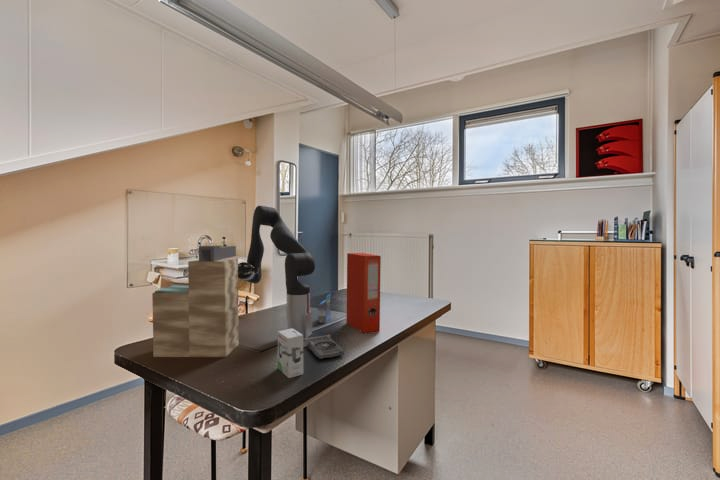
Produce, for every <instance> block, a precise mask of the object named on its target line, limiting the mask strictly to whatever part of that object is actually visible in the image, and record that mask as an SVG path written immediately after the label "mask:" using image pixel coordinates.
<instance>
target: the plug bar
mask: <svg viewBox="0 0 720 480" xmlns="http://www.w3.org/2000/svg"><path fill="white" fill-rule="evenodd" d="M236 246H237V245H226V246H221V245H199V246H198V259H199V261H218V260H220V259H225V258H234V257H236V256H237V255H236V254H237V249H236V248H237V247H236Z"/></svg>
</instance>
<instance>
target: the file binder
mask: <svg viewBox="0 0 720 480" xmlns="http://www.w3.org/2000/svg"><path fill="white" fill-rule="evenodd" d="M346 255H347V256H346V262H347V263H346V269H347V270H346V324H347V325H349V326H351V327H353V329H355V330H357V331H358V332H360V333H362V334H363V333H364V335H366V334H365V333H367V334H372V333H371V332H375V333H379V332H380V330H381V329H380V327H381V326H380V324H381V267H382V265H381V263H382V261H381V260H382V259H381V258H382V257H381V255H378V254H377V255H376V254H373V253H371V254H370V253H364V252H350V253H349V252H347V253H346ZM378 331H379V332H378Z"/></svg>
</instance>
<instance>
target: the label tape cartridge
mask: <svg viewBox="0 0 720 480" xmlns="http://www.w3.org/2000/svg"><path fill="white" fill-rule="evenodd" d="M331 296H332V295H331V292H330V293H329V294H327V295H326V297H325V299H324V300H322V301H321V302H320V303H319V304H318V308H317V309H318V313H317V314H318V318H317V319H318V323H319V324H320V323H321V324H326V323H328V321H329V320H330V319H331V318H332V317H331Z"/></svg>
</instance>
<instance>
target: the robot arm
mask: <svg viewBox="0 0 720 480" xmlns="http://www.w3.org/2000/svg"><path fill="white" fill-rule="evenodd" d="M261 226H265V227H271V228H272V229H271V231H270V236H269V237H270V240H271V242H272V243H273V245H274V247H275V248H276V249H278V251H280V252H282V253H284V254H286V256H285V259H284V271H285V272H284V273H285V274H284V275H285V288H286V330H287V329H291V328H293V329H294V330H296V331H298V332H299V333H301V334H302V335H303V339H305V338H310V336H312V335H313V311H312V310H311V287H310V285H308V284H306V283H302V282H300V281H299V279H298V277H302V276H303V277H304V276H309V275H312V274H313V273H314V272H315V270H316V269H315V268H316V264H315V260H314V257H313V256H312V254H311V253H310V251H308V249H306V248H305V247H304V246H303V245H302V244H301V243H300V242H299V240H298V239H297V238H296V237H295V235H294V234H293V232H292V231H291V230H290V228H288V226H287V225H286V223H285V222H284V221H283V218H282V216H281V215H280V213H279V211H278V210H277V209H276V208H275V207H271V206H265V205H257V206H256V208H255V209H254V210H253V216H252V225H251V236H250V244H249V250H248V254H247V258H246V261H241V262H238V279H240V280H241V281H244V282H247V283H250V284H251V283H252V284H258V283H259V282H261V280H262V275H263V274H262V262H263V261H262V260H263V257H264V252H265V247H264V243H263V240H262V237H261V232H260V229H261ZM305 340H306V339H305Z"/></svg>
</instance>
